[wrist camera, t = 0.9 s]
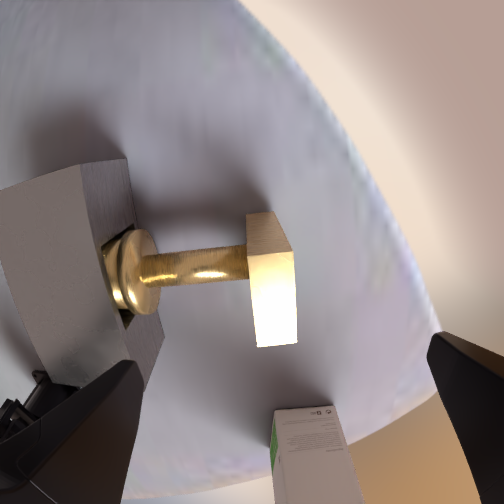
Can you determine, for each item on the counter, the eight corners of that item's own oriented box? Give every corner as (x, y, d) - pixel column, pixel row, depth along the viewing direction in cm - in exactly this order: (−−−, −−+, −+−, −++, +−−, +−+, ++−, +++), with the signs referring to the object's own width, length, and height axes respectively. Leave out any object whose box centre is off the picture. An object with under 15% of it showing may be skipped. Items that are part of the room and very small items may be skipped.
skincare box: (274, 407, 26) (290, 555, 11) (339, 402, 26) (381, 537, 11) (268, 450, 28) (277, 568, 14) (324, 446, 29) (349, 557, 14)
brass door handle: (94, 294, 21) (42, 353, 13) (76, 231, 19) (10, 272, 12) (279, 279, 21) (297, 349, 13) (273, 205, 19) (292, 241, 11)
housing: (84, 337, 23) (53, 382, 17) (40, 181, 18) (-14, 196, 12) (164, 337, 23) (144, 392, 17) (126, 158, 18) (79, 163, 12)
